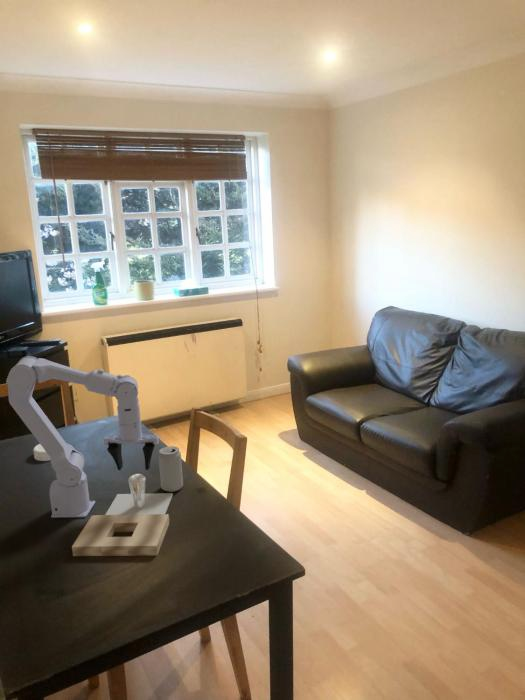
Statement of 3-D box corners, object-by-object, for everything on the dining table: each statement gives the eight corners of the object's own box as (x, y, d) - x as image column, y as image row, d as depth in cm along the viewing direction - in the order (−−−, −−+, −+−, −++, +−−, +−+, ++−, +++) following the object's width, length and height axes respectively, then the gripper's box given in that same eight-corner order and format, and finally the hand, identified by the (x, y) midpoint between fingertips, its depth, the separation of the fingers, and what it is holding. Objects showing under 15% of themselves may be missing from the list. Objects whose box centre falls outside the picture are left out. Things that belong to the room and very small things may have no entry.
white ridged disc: (33, 453, 189) (32, 443, 188) (63, 447, 193) (62, 438, 192) (35, 464, 180) (33, 454, 179) (67, 457, 184) (65, 448, 183)
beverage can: (178, 494, 156) (175, 455, 153) (157, 492, 157) (154, 453, 155) (186, 483, 162) (183, 445, 159) (165, 482, 163) (162, 444, 161)
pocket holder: (73, 556, 128) (71, 546, 128) (93, 523, 142) (92, 515, 141) (157, 555, 128) (156, 545, 127) (169, 522, 141) (168, 514, 141)
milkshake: (136, 513, 146) (132, 479, 143) (128, 505, 150) (125, 472, 148) (152, 508, 148) (148, 474, 146) (144, 500, 152) (141, 467, 150)
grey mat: (104, 517, 145) (104, 516, 145) (117, 495, 157) (117, 494, 156) (164, 516, 144) (164, 515, 144) (173, 494, 156) (172, 493, 156)
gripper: (98, 427, 143) (103, 475, 146) (152, 426, 142) (156, 474, 145) (106, 417, 150) (111, 463, 153) (159, 417, 149) (162, 463, 152)
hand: (134, 468), depth 150 cm, fingers open, 7 cm apart
